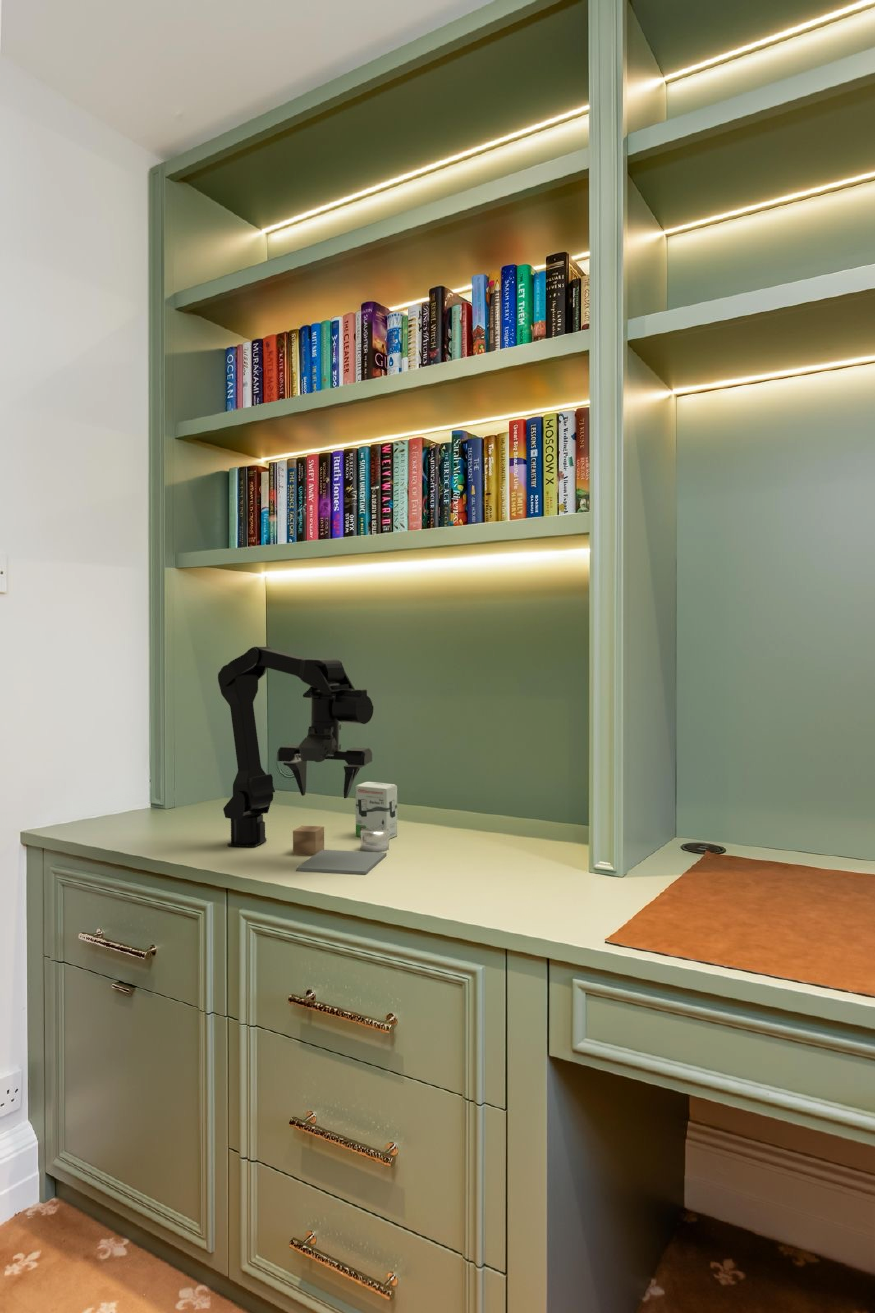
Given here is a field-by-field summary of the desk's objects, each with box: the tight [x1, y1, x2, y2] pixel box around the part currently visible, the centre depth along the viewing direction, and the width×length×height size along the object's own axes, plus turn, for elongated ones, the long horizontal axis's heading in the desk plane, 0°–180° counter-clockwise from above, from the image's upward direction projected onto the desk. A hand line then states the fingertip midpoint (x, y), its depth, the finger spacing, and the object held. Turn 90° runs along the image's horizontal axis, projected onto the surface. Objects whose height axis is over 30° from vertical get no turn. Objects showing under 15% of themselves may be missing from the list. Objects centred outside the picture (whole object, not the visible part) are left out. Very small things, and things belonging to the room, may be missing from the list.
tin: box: [360, 827, 390, 853], centre depth 170 cm, size 6×6×4 cm
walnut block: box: [292, 825, 325, 856], centre depth 168 cm, size 5×5×5 cm
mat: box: [295, 849, 387, 875], centre depth 159 cm, size 14×14×1 cm
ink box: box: [355, 781, 398, 840], centre depth 181 cm, size 9×5×12 cm, turn 62°
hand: (324, 796), depth 163 cm, fingers open, 9 cm apart
